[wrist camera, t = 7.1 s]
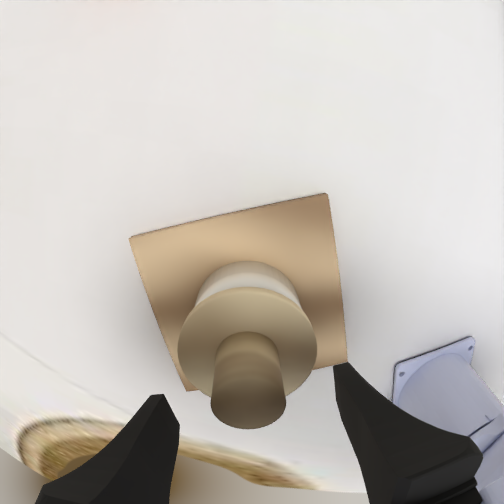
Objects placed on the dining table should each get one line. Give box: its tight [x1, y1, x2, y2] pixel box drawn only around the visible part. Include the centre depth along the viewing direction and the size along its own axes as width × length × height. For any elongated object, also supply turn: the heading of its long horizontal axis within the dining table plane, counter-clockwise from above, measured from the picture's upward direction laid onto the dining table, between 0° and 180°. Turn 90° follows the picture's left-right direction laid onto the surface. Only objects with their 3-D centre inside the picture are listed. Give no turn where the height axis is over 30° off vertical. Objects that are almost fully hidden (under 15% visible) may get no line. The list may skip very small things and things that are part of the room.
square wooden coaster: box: [129, 193, 348, 391], centre depth 20 cm, size 12×12×1 cm
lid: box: [177, 287, 317, 429], centre depth 14 cm, size 7×7×4 cm
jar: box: [194, 261, 302, 309], centre depth 18 cm, size 6×6×4 cm
